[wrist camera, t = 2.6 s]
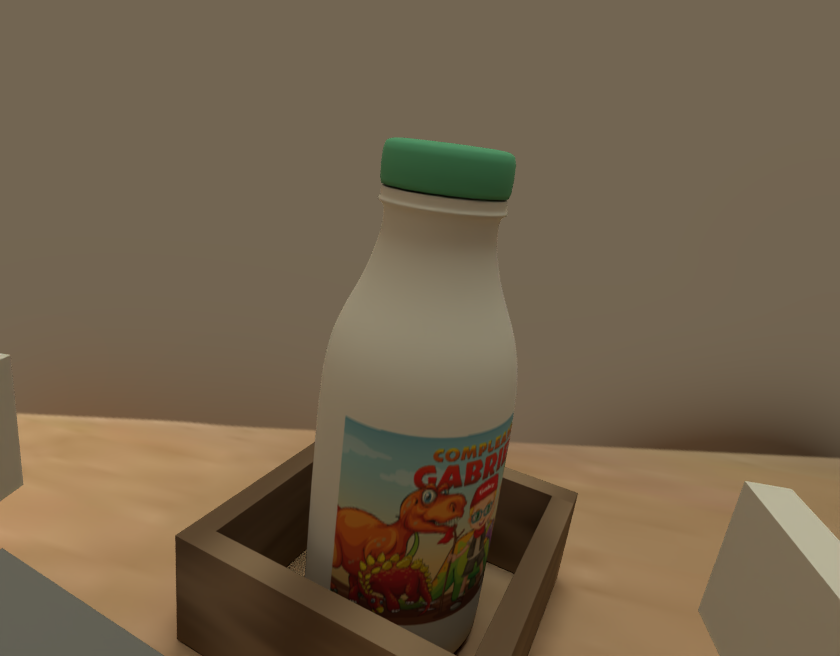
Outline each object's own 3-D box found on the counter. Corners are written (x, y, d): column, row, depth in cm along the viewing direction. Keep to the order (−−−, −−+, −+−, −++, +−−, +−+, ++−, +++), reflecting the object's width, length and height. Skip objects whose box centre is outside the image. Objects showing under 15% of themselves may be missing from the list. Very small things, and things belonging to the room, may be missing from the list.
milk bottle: (264, 625, 24) (288, 121, 17) (362, 526, 30) (405, 137, 24) (428, 720, 20) (529, 152, 14) (497, 587, 27) (585, 160, 21)
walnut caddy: (557, 577, 28) (577, 493, 27) (464, 823, 17) (490, 706, 16) (349, 489, 33) (357, 413, 32) (177, 638, 22) (175, 535, 21)
